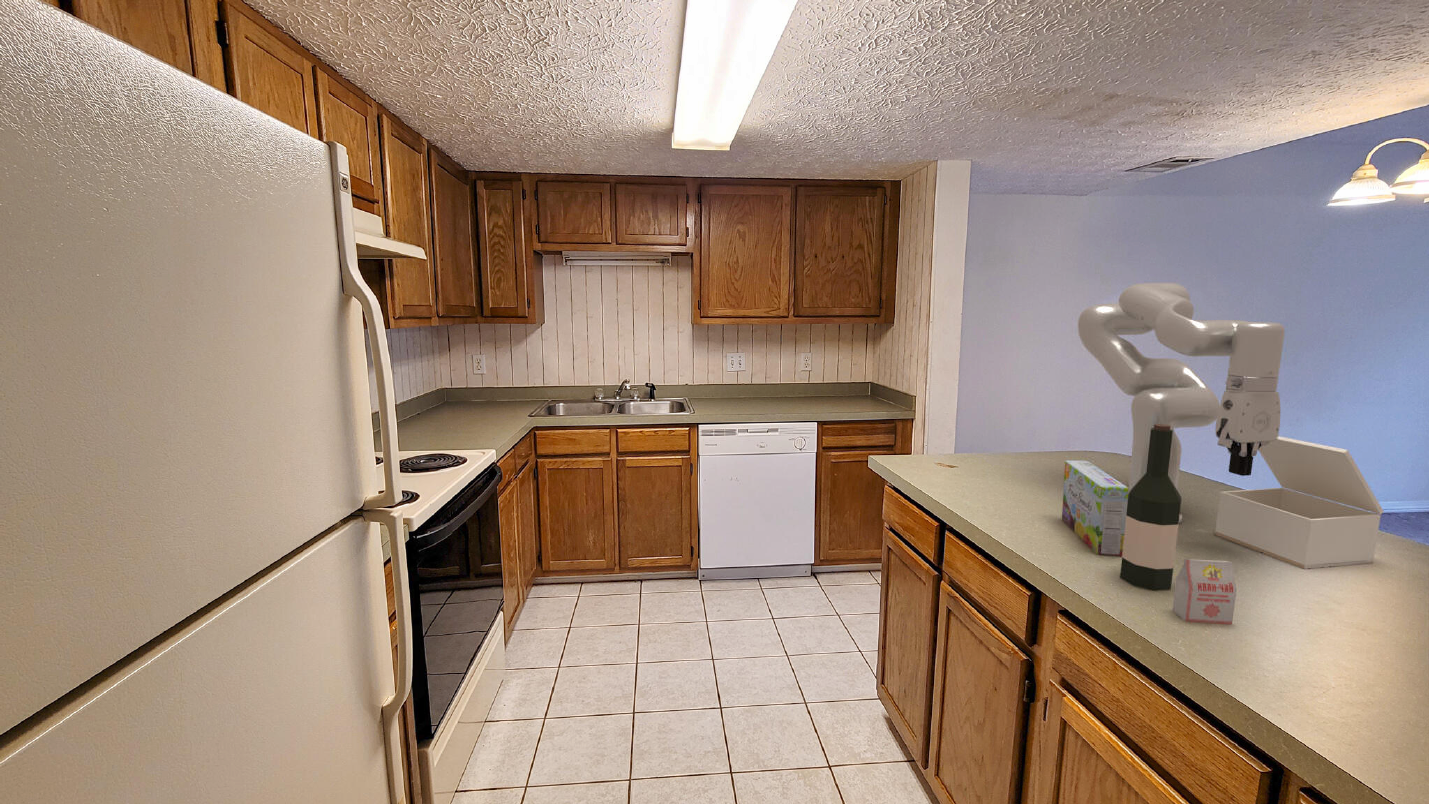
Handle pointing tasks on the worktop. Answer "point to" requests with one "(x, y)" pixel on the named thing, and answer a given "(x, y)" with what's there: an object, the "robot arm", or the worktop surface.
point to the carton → (1298, 527)
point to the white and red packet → (1205, 591)
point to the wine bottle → (1152, 519)
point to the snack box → (1095, 507)
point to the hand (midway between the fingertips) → (1239, 473)
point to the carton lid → (1319, 472)
